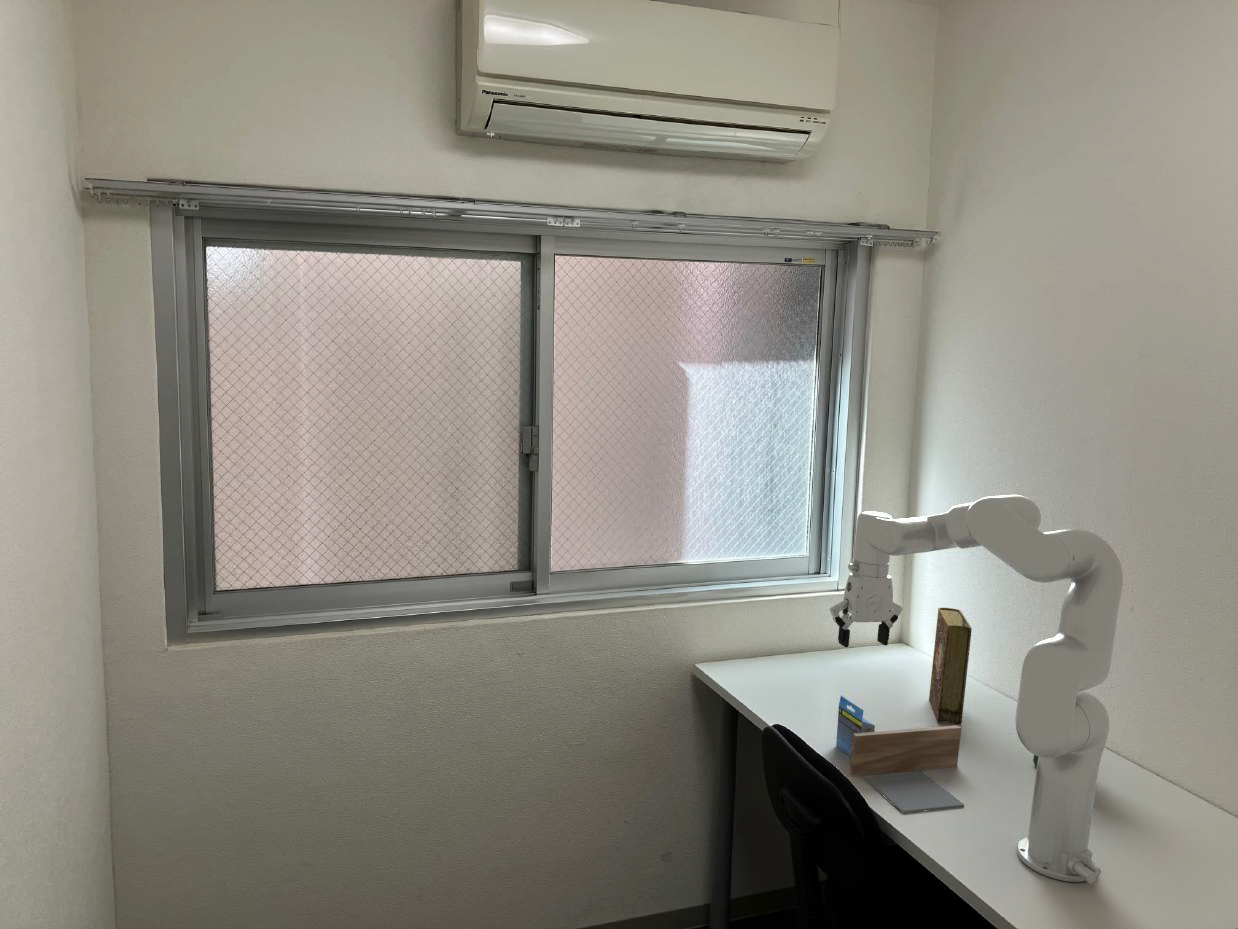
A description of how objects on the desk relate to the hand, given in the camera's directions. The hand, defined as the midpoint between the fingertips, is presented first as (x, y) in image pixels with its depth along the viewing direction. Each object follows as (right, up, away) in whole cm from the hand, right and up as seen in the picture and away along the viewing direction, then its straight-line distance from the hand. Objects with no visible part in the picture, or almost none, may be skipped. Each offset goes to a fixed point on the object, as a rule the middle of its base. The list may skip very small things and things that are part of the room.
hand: (863, 644), depth 192 cm
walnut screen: (+8, -27, -3) cm, 28 cm away
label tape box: (-1, -25, +3) cm, 26 cm away
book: (+29, -24, +29) cm, 47 cm away
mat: (+6, -28, -13) cm, 31 cm away
